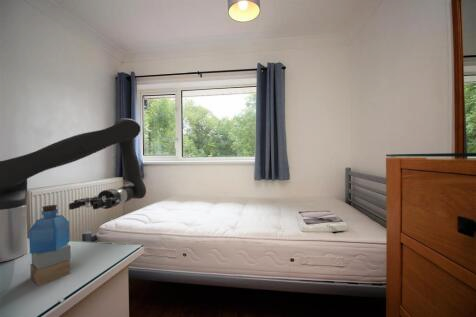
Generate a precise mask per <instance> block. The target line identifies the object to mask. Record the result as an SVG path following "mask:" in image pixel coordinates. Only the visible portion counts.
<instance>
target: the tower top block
mask: <svg viewBox="0 0 476 317" xmlns="http://www.w3.org/2000/svg"><path fill="white" fill-rule="evenodd" d="M30 255H31V264H33V265H34V266H35V267H36V268H37V269H38V270H40V269H43V268H46V267H49V266H52V265H55V264H58V263H61V262H64V261H67V260H70V261H71V259H72V256H71V255H72V250H71V245H70V243H67V244H66V245H64V246H63V247H61V248H60V249H58V250H57V251H50V252H41V253H31V254H30Z"/></svg>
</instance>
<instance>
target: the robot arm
mask: <svg viewBox="0 0 476 317" xmlns="http://www.w3.org/2000/svg"><path fill="white" fill-rule="evenodd" d="M140 133H141V125H140V123H139V122H137V121H136V120H134V119H132V118H127V117H125V118H124V117H121V118H119V119H117V120H116V121H115V122H114V124H113V125H111V126H109V127H105V128H103V129H99V130H94V131H88V132H87V131H86V132H83V133H79V134H75V135H73V136H70V137H67V138H63V139H61V140H58V141H55V142H54V143H51V144H49V145H47V146H45V147H42V148H40V149H38V150H36V151H35V150H34V151H33V152H30V153H26V154H24V155H20V156H19V155H18V156H15V157H12V158H8V159H5V160H0V263H2V262H7V261H11V260H15V259H19V258H20V257H23V256H25V255H26V254H28V216H27V215H28V212H27V201H28V200H27V199H28V179H30V178H31V177H34V176H35V175H37V174H41V173H42V172H43V173H44V172H45V171H47V170H48V171H49V170H50V169H54V168H57V167H58V168H59V167H62V166H65V165H68V164H71V163H74V162H77V161H79V160H81V159H84V158H86V157H89V156H91V155H93V154H95V153H98V152H100V151H102V150H105V149H107V148H108V147H111V146H113V145H116V144H118V145H119V149H120V153H121V160H122V167H123V169H122V170H123V174H124V180H125V181H127V182H130V183H127V184H124V185H123V186H121V187H114V188H109V189H105V190H101V191H100V192H99V193H98V194H97V195H95V196H92V197H86V196H85V197H83V198H79V199H75V200H73V202H70V203H69V204H68V209H69V210H75V209H76V210H77V209H80V208H85V209H87V208H92V210H98V209H100V208H101V209H103V210H104V209H105V210H107V209H108V210H109V209H112V208H114V207H117V206H119V205H122V204H123V203H126V202H129V201H131V200H132V199H137V200H138V199H143V198H144V197H145V196H146V194H147V188H146V185H145V183H144V180H143V178H142V176H141V168H140V166H141V165H140V161H139V158H138V156H137V152H136V150H135V149H136V148H135V144H134V139H135V138H137V137H138V135H139V134H140Z"/></svg>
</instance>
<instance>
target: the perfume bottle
mask: <svg viewBox="0 0 476 317" xmlns="http://www.w3.org/2000/svg"><path fill="white" fill-rule="evenodd" d="M57 207H58V204H50V205H45V206H42V207H41V208H42V210H41V216H42V218H38V219H37V220H36V221H35V222H34V224H33V225H32V226H31V227H30V229H29V230H28V231H29V234H28V237H29V254H30V255H31V253H41V252H50V251H57V250H58V249H60V248H61V247H63V246H64V245H66V244H70V222H69V220H68V219H67V218H66V217H65V216H64V215H63V214H62V215H57V214H58V213H59V212H58V211H59V209H58V208H57Z"/></svg>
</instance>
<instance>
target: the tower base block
mask: <svg viewBox="0 0 476 317" xmlns="http://www.w3.org/2000/svg"><path fill="white" fill-rule="evenodd" d="M69 274H71V259H70V260H67V261H64V262H61V263H58V264H55V265H52V266H49V267H46V268H43V269H40V270H38V269H37V268H36V267H35V266H34V265H33V264H32V263H30V278H31V279H32V281H34V283H35V284H36V286H40V285H42V284H43V285H44V284H46V283H47V282H51V281H53V280H55V279H58V278H60V277H64V276H66V275H69Z"/></svg>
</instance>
